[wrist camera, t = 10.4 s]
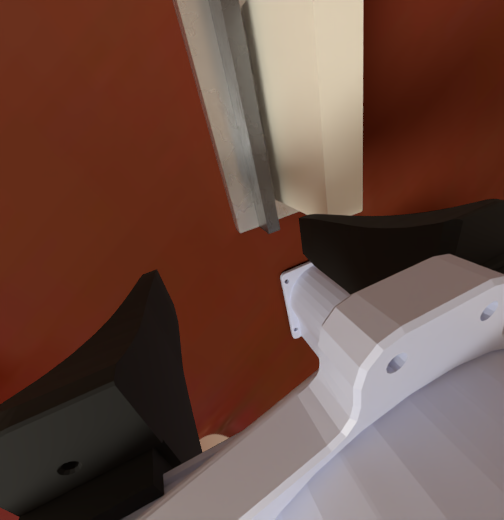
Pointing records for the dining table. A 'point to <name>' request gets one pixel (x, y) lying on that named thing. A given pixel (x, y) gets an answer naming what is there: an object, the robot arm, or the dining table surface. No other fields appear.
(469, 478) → the robot arm
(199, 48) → the bottom track
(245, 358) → the dining table surface
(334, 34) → the door panel
